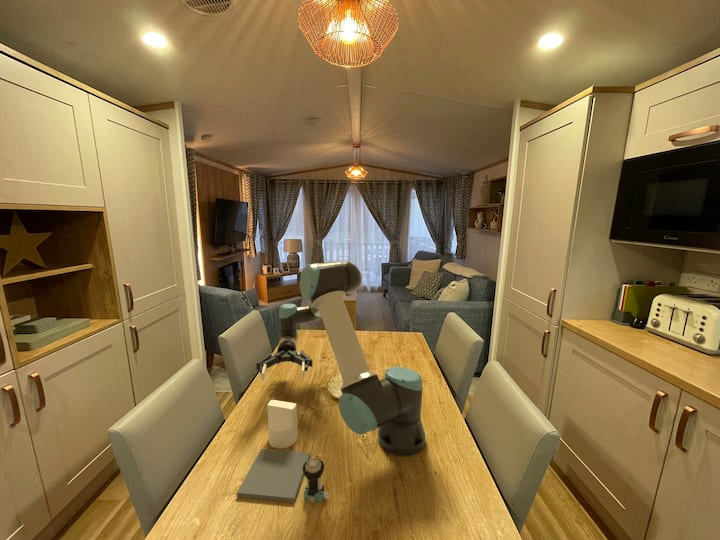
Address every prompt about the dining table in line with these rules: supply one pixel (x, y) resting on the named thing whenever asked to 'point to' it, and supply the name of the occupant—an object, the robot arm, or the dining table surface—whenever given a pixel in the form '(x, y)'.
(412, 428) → the robot arm
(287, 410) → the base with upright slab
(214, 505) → the dining table surface
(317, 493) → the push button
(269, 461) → the slate mat
